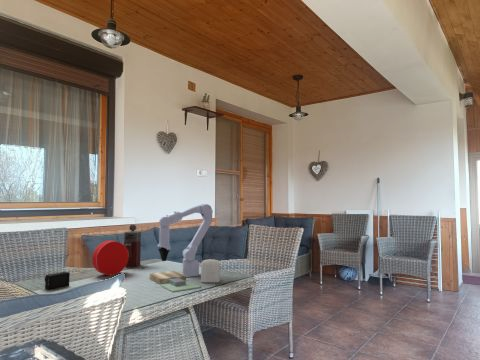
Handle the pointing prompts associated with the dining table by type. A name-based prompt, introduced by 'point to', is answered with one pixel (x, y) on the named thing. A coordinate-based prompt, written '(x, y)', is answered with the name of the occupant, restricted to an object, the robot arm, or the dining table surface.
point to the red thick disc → (110, 257)
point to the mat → (188, 286)
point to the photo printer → (210, 271)
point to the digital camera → (57, 280)
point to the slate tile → (176, 282)
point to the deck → (165, 276)
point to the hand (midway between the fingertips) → (163, 260)
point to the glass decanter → (133, 246)
